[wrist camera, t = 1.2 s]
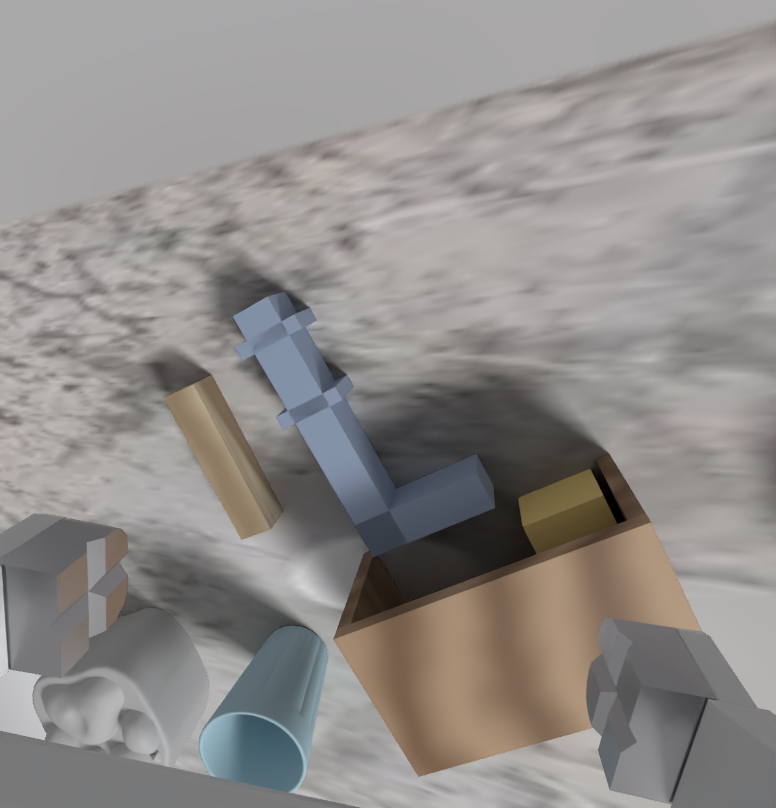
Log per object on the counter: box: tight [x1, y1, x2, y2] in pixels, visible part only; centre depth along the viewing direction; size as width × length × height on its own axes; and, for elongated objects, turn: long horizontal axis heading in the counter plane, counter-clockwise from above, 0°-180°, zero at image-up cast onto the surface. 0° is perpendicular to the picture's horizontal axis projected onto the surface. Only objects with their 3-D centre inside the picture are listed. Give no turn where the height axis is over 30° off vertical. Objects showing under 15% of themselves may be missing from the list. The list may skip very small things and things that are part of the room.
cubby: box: [333, 454, 702, 777], centre depth 38 cm, size 20×12×10 cm, turn 119°
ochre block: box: [518, 469, 617, 554], centre depth 39 cm, size 6×4×4 cm
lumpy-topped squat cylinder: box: [33, 608, 209, 768], centre depth 48 cm, size 10×13×9 cm
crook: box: [233, 292, 495, 557], centre depth 39 cm, size 10×19×4 cm, turn 29°
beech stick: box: [164, 375, 283, 540], centre depth 43 cm, size 3×12×3 cm, turn 25°
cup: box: [199, 625, 328, 793], centre depth 44 cm, size 8×8×10 cm
